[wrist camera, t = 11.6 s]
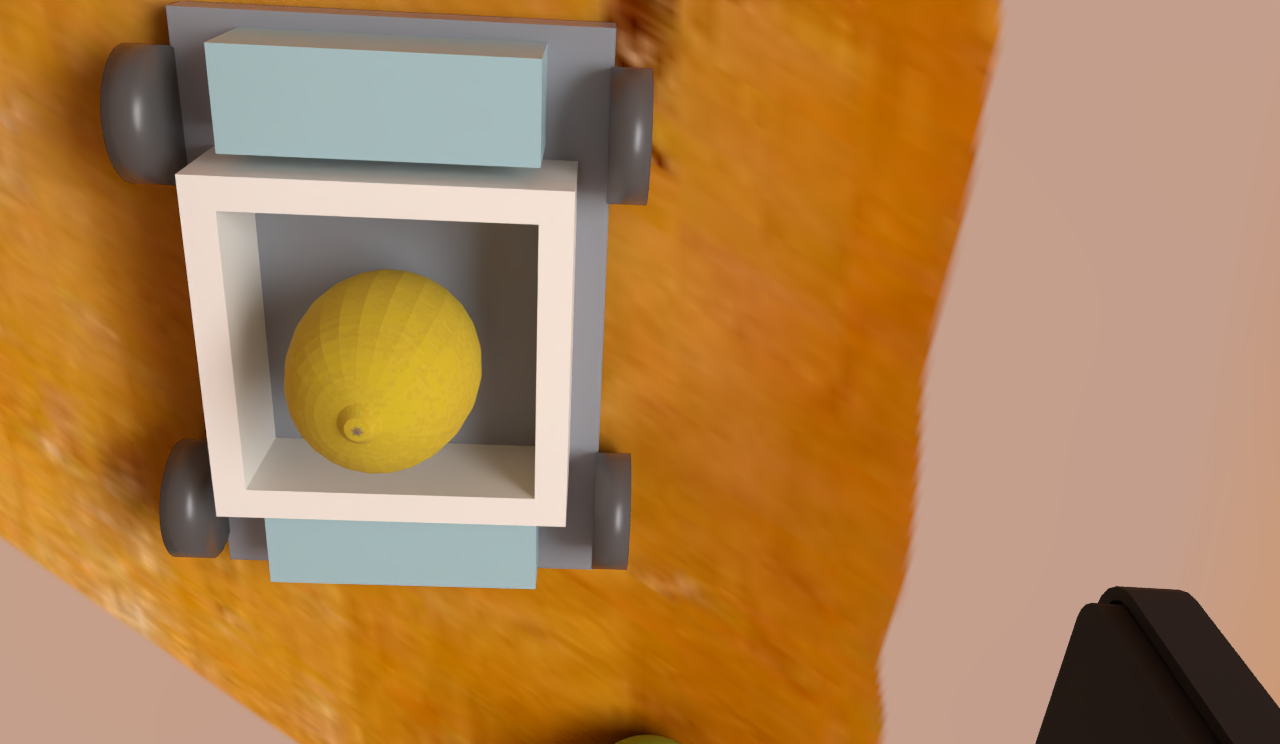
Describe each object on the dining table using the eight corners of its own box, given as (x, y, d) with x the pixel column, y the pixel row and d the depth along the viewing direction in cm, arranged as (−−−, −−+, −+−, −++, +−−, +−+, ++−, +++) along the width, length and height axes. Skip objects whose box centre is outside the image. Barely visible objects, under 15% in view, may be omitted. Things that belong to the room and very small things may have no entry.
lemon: (320, 382, 38) (247, 507, 30) (328, 223, 35) (251, 318, 28) (485, 405, 38) (452, 534, 31) (504, 250, 36) (473, 349, 28)
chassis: (142, -2, 33) (73, 19, 29) (651, 24, 34) (658, 48, 30) (210, 539, 41) (164, 618, 37) (623, 551, 42) (625, 630, 38)
